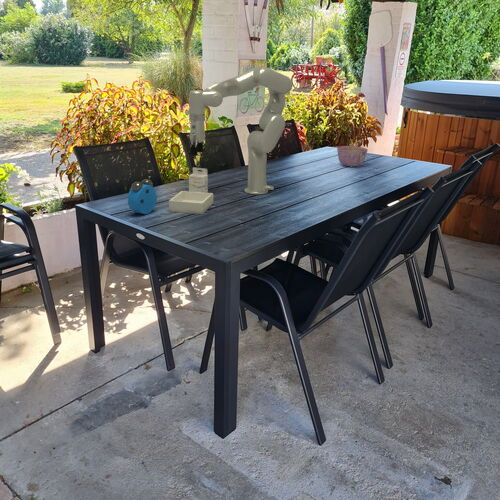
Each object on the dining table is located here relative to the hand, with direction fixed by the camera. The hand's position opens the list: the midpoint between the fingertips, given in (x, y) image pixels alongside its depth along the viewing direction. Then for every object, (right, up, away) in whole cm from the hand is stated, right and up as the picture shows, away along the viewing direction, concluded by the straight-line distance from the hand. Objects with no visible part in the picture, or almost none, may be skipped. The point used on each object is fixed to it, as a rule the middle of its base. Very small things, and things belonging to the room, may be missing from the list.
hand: (196, 153), depth 243 cm
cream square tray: (-2, -27, -8) cm, 28 cm away
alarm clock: (-22, -31, -18) cm, 42 cm away
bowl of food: (+93, +9, +90) cm, 130 cm away
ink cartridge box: (0, -21, +8) cm, 22 cm away
